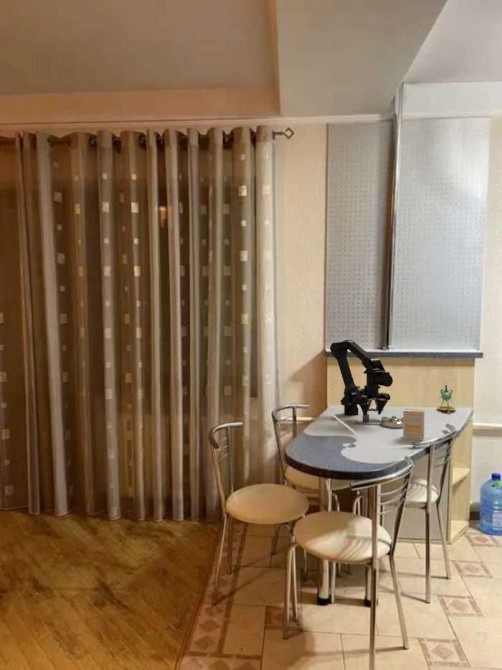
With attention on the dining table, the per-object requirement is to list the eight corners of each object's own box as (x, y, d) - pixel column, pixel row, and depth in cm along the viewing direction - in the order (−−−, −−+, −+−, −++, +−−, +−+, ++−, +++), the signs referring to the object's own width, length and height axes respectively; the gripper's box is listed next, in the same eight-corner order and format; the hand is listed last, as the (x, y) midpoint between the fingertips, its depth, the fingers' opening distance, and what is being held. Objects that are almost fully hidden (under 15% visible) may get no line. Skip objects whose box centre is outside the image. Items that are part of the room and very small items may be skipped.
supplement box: (424, 440, 215) (425, 409, 214) (423, 443, 211) (423, 412, 210) (404, 437, 219) (404, 408, 218) (402, 440, 214) (403, 410, 213)
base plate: (359, 434, 224) (359, 430, 224) (350, 421, 248) (350, 417, 248) (428, 434, 223) (428, 430, 223) (413, 421, 247) (413, 417, 247)
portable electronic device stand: (363, 410, 272) (363, 394, 271) (375, 408, 275) (375, 393, 275) (375, 413, 264) (375, 397, 263) (386, 411, 268) (386, 396, 267)
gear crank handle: (406, 422, 240) (406, 413, 240) (409, 429, 228) (409, 419, 228) (362, 420, 245) (362, 411, 244) (362, 426, 233) (362, 417, 233)
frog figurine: (434, 413, 263) (434, 385, 263) (438, 410, 279) (438, 383, 279) (454, 415, 259) (454, 386, 259) (456, 411, 275) (457, 384, 275)
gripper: (374, 379, 254) (374, 410, 256) (346, 383, 245) (346, 415, 246) (391, 382, 245) (390, 414, 246) (362, 386, 235) (362, 419, 237)
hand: (372, 415), depth 244 cm, fingers open, 9 cm apart
